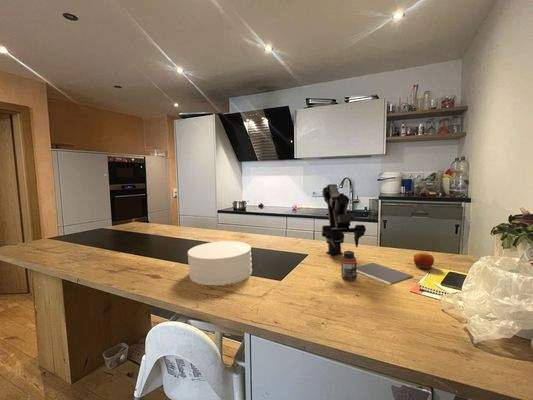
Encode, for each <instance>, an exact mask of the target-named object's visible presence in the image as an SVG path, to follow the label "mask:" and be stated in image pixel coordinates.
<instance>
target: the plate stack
mask: <svg viewBox="0 0 533 400" xmlns="http://www.w3.org/2000/svg"><path fill="white" fill-rule="evenodd" d="M251 251H252V246H251V245H250V244H248V243H246V242H242V241H234V240H232V241H231V240H227V241H226V240H223V241H214V242H212V241H211V242H207V243H202V244H198V245H195V246H194V247H191V248H190V249H189V250H187V263H188V273H189V274H188V277H190V279H191V280H192V281H194V282H196V283H199V284H204V285H222V286H226V285H225V284H229V285H232V284H231V283H233V284H236V282H237V283H240V282H241V281H244V280H246V279H249V277H250V276H251V275H252V273H253V268H252V267H253V266H252V252H251ZM190 279H189V280H190ZM191 280H190V281H191ZM192 281H191V282H192ZM196 283H195V284H196ZM199 284H198V285H199ZM204 285H203V286H204Z"/></svg>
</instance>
